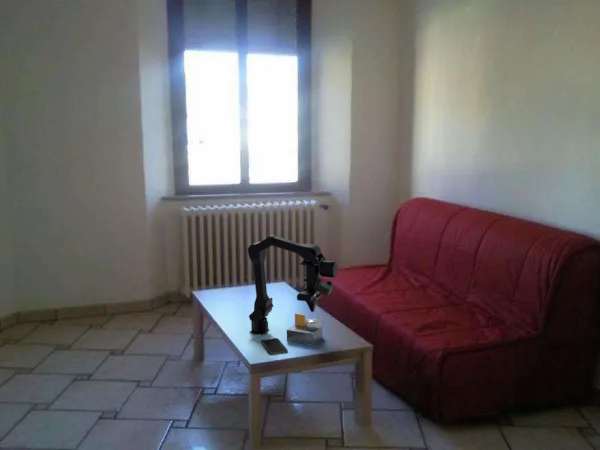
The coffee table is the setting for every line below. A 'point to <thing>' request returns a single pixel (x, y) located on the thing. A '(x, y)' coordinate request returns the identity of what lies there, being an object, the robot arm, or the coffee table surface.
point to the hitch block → (303, 335)
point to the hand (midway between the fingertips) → (312, 311)
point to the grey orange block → (300, 319)
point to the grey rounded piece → (312, 324)
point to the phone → (273, 346)
